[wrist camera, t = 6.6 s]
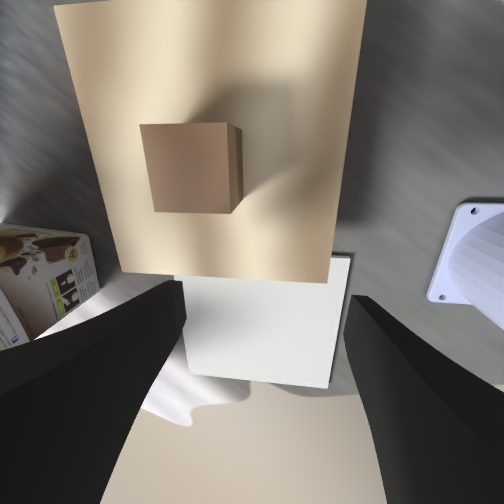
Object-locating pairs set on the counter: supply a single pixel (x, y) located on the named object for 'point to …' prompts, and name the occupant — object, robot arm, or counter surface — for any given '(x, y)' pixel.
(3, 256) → the coffee box
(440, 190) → the counter surface
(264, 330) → the mat
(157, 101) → the lid
